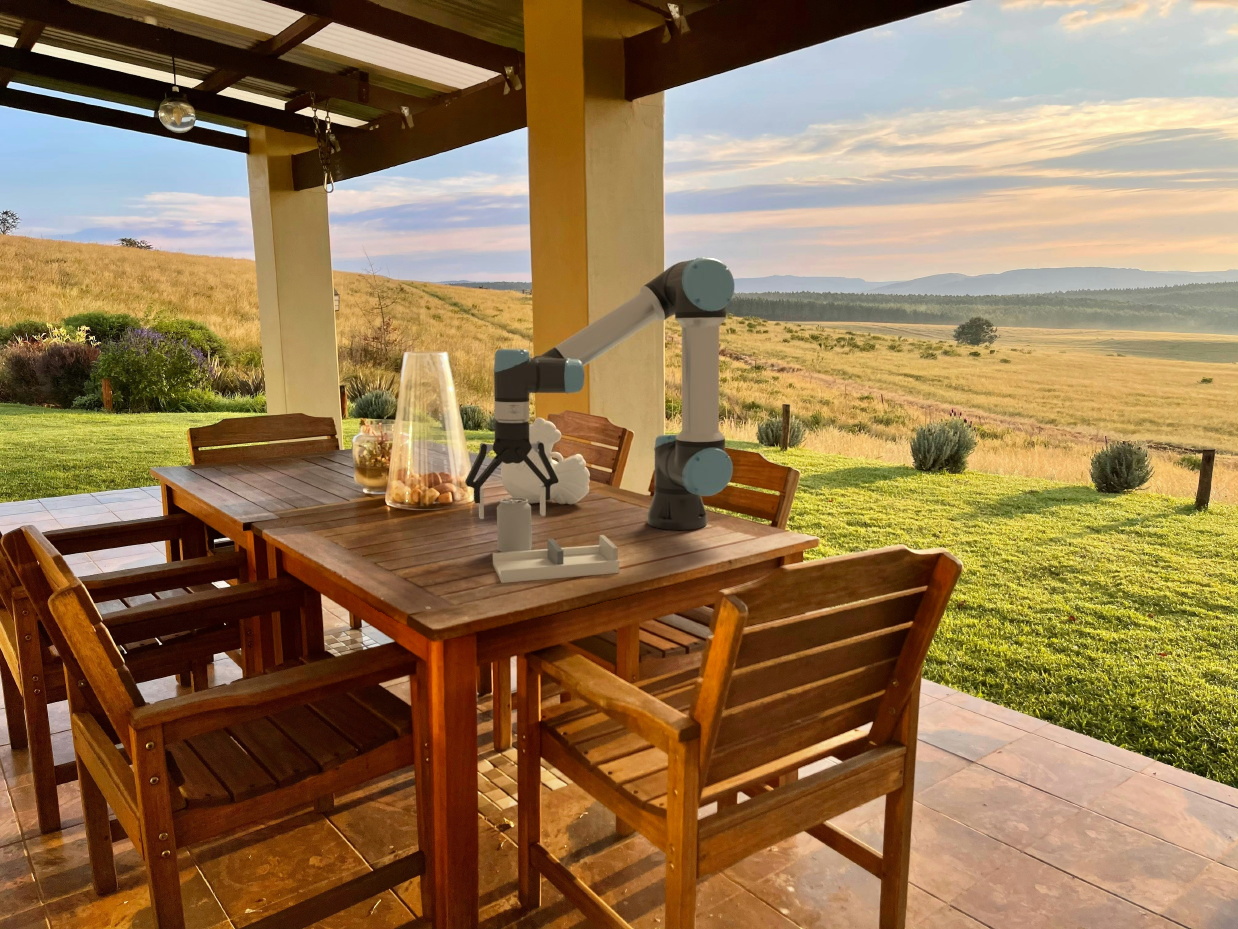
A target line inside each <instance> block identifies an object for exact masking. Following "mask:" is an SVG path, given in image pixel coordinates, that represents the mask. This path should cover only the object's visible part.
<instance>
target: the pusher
mask: <svg viewBox="0 0 1238 929" xmlns="http://www.w3.org/2000/svg"><path fill="white" fill-rule="evenodd" d="M546 541H547V543H546V544H547V546H546V547H547V548H546V549H548V558H549V560H550V561H551V562H552V564H553V565H558V564H563V550H562V549H561V548H562V547H561V546H560V545H559V544H558V543H557V541H556V540H555V539H554V538H552V537H551V538H547V540H546Z"/></svg>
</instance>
